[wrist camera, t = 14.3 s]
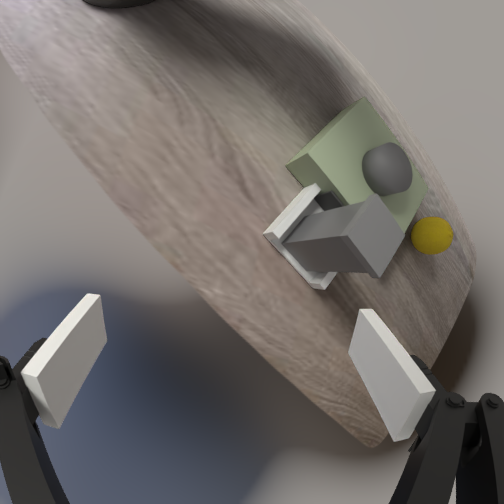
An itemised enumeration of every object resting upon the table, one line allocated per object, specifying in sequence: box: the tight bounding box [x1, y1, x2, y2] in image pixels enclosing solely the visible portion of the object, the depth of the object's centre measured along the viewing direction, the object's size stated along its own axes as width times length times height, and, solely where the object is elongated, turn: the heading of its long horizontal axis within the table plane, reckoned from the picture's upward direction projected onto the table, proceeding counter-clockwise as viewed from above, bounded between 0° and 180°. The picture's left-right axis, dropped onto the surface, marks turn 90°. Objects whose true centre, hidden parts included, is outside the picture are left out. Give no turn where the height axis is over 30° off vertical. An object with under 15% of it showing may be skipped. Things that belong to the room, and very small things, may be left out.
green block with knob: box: [263, 97, 428, 290], centre depth 35 cm, size 22×16×8 cm
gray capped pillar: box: [281, 193, 405, 278], centre depth 30 cm, size 5×5×12 cm
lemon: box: [411, 217, 453, 254], centre depth 40 cm, size 6×6×8 cm
